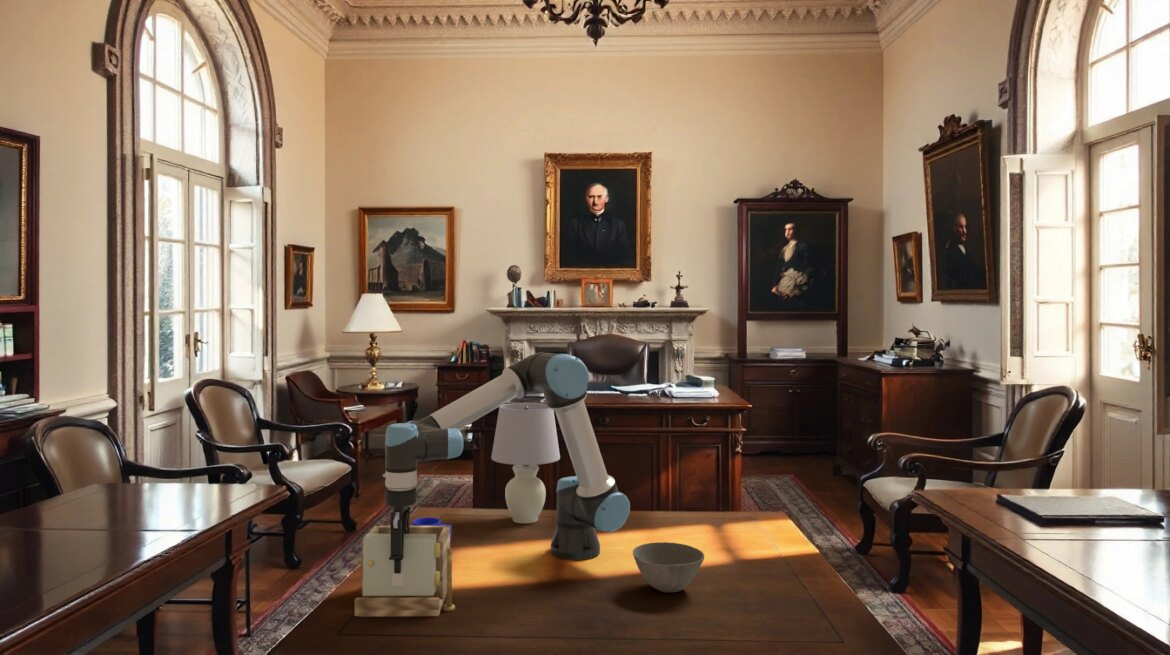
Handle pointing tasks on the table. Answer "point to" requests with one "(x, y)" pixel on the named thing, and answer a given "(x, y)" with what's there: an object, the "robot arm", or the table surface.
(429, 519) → the mug
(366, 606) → the cabinet
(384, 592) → the door
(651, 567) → the bowl
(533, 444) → the lamp
